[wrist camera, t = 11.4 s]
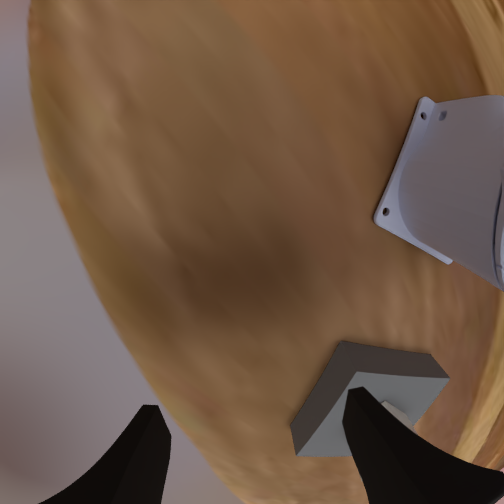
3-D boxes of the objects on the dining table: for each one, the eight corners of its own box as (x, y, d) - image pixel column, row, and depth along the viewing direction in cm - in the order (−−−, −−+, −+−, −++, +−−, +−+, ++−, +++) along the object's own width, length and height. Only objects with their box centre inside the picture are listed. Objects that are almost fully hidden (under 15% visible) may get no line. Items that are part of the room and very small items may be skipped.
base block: (339, 337, 20) (356, 371, 17) (428, 352, 22) (450, 378, 18) (289, 422, 23) (296, 455, 19) (375, 425, 25) (388, 453, 21)
